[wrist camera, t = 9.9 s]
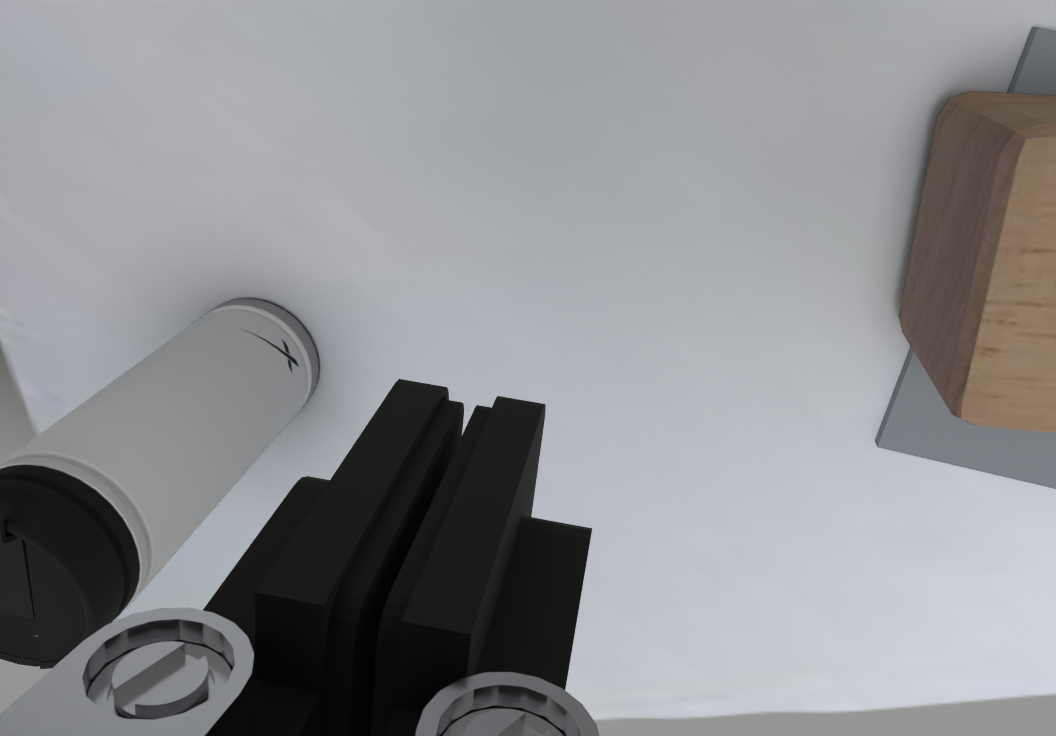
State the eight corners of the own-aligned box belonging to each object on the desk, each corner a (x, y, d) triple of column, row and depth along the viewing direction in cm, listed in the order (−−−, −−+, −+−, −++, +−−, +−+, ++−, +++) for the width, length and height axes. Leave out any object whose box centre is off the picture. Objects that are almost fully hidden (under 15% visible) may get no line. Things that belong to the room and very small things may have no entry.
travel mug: (323, 301, 45) (75, 529, 27) (318, 426, 48) (89, 712, 29) (196, 279, 46) (-132, 488, 27) (197, 404, 48) (-100, 671, 30)
